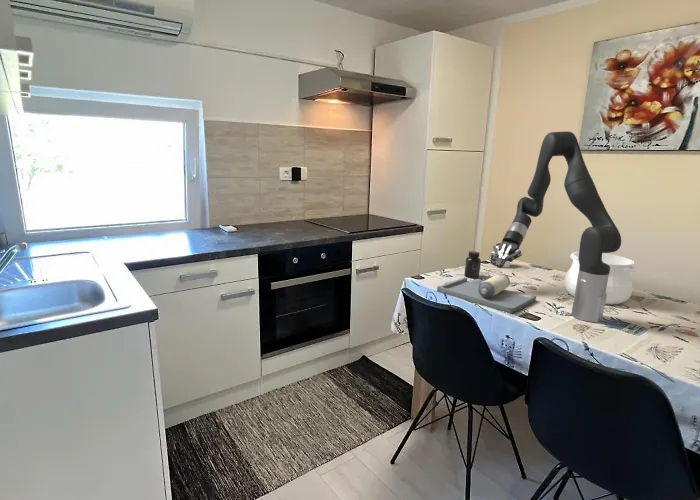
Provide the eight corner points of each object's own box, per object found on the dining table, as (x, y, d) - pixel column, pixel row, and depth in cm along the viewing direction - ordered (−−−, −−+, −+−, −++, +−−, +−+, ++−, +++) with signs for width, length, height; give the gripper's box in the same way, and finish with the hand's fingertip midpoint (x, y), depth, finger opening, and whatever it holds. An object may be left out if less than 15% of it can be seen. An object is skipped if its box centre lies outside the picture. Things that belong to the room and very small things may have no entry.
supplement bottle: (480, 276, 192) (483, 252, 189) (476, 279, 187) (479, 254, 184) (466, 273, 196) (469, 249, 193) (462, 276, 190) (464, 252, 188)
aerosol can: (490, 278, 175) (471, 288, 160) (503, 270, 170) (485, 280, 155) (499, 291, 173) (481, 303, 158) (513, 284, 169) (495, 295, 154)
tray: (535, 300, 161) (536, 296, 160) (511, 314, 146) (512, 308, 145) (464, 281, 183) (464, 277, 183) (436, 291, 168) (437, 286, 167)
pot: (548, 290, 175) (554, 252, 171) (583, 284, 186) (590, 248, 182) (608, 310, 153) (616, 268, 149) (643, 302, 164) (652, 262, 160)
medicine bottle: (489, 264, 215) (492, 242, 212) (499, 263, 218) (502, 242, 215) (499, 268, 208) (502, 245, 206) (509, 267, 211) (512, 244, 209)
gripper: (498, 227, 176) (481, 258, 170) (528, 232, 167) (511, 265, 161) (502, 237, 181) (486, 268, 175) (532, 243, 171) (515, 275, 166)
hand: (498, 266), depth 168 cm, fingers closed
